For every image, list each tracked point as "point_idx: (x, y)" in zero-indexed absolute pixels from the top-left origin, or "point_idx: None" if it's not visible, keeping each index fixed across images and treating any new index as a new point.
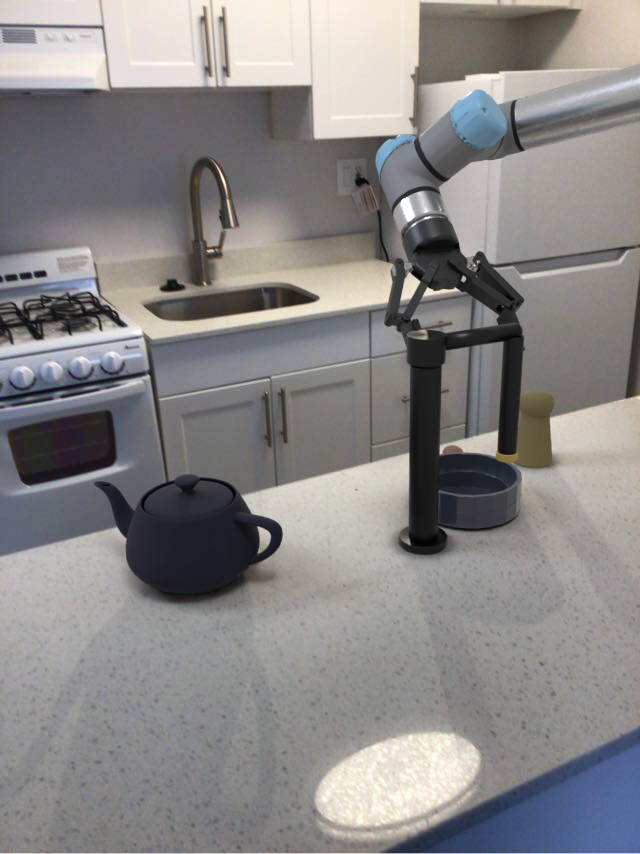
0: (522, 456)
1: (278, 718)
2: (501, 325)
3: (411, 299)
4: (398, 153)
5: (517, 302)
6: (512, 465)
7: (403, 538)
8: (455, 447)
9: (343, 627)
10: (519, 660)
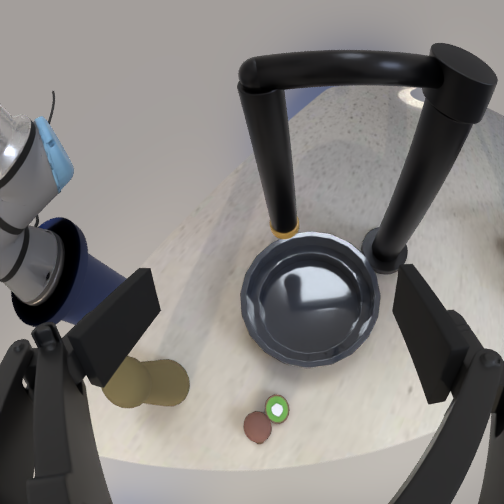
0: (181, 376)
1: (476, 135)
2: (294, 53)
3: (482, 429)
4: None
5: (30, 348)
6: (243, 294)
7: (404, 248)
8: (254, 425)
9: (455, 174)
10: (362, 122)
